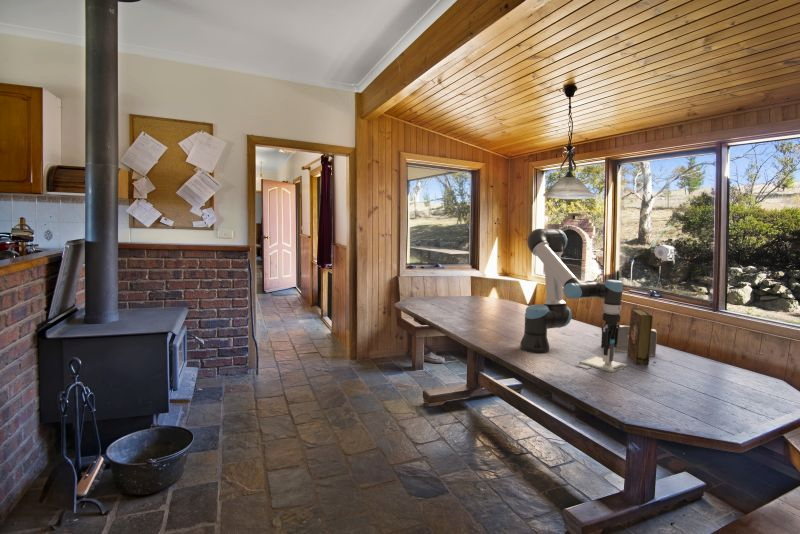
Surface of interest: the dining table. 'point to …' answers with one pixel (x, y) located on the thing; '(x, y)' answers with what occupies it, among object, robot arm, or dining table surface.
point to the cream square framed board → (603, 364)
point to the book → (639, 336)
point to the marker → (611, 352)
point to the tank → (623, 339)
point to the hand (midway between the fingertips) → (608, 360)
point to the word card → (583, 366)
